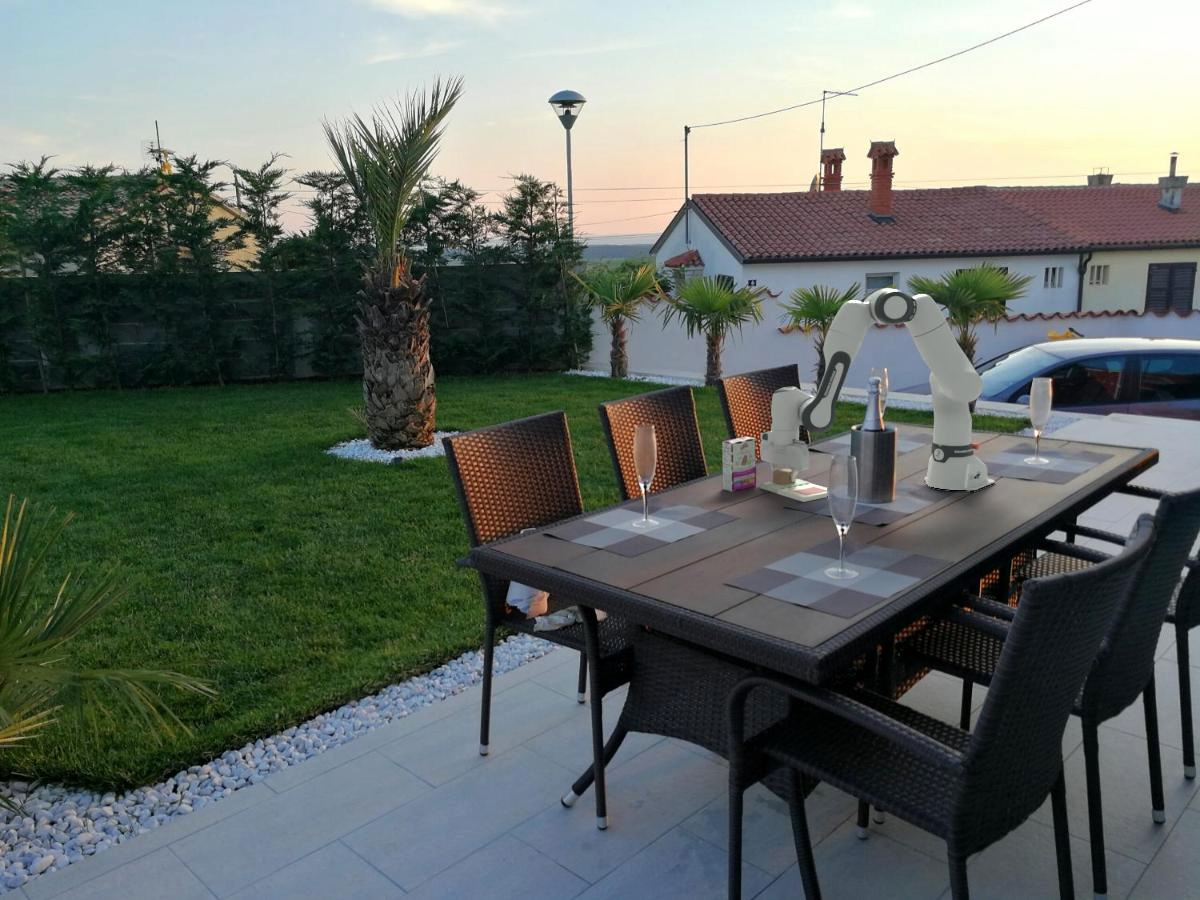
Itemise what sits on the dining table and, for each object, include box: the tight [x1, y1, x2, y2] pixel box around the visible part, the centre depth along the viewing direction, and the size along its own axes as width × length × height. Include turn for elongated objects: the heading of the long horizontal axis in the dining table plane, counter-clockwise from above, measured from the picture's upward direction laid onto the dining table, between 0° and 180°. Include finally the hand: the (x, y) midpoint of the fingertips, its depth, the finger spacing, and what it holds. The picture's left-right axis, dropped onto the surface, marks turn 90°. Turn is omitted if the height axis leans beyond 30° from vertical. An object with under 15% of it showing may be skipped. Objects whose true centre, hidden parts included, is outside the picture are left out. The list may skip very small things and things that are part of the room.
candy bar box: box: [721, 436, 757, 493], centre depth 274 cm, size 11×5×16 cm, turn 126°
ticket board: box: [776, 482, 828, 503], centre depth 265 cm, size 14×12×2 cm
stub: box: [759, 468, 811, 494], centre depth 273 cm, size 14×8×6 cm, turn 119°
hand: (784, 478), depth 273 cm, fingers open, 7 cm apart
